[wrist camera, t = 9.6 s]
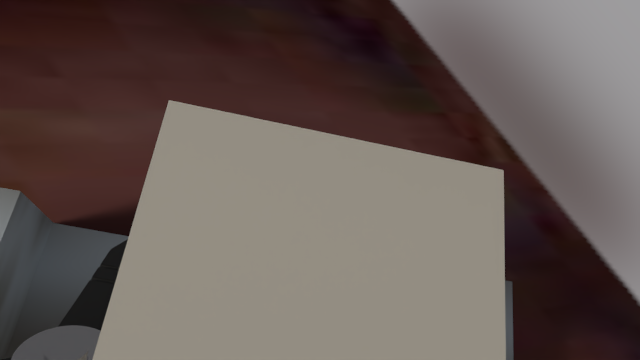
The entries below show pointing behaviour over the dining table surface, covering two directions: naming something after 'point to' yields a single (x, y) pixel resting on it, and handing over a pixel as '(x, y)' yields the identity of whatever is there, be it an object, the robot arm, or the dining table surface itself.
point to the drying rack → (64, 271)
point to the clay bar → (306, 249)
